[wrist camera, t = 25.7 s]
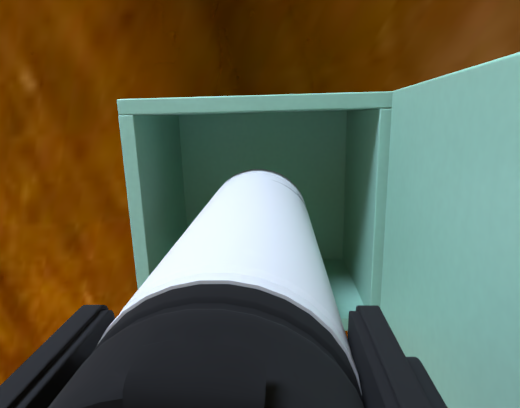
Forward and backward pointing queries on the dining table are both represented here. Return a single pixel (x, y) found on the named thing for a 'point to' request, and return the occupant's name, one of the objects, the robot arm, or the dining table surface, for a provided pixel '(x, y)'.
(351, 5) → the dining table surface
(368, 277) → the mint green cubby
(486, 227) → the box lid
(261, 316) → the travel mug
